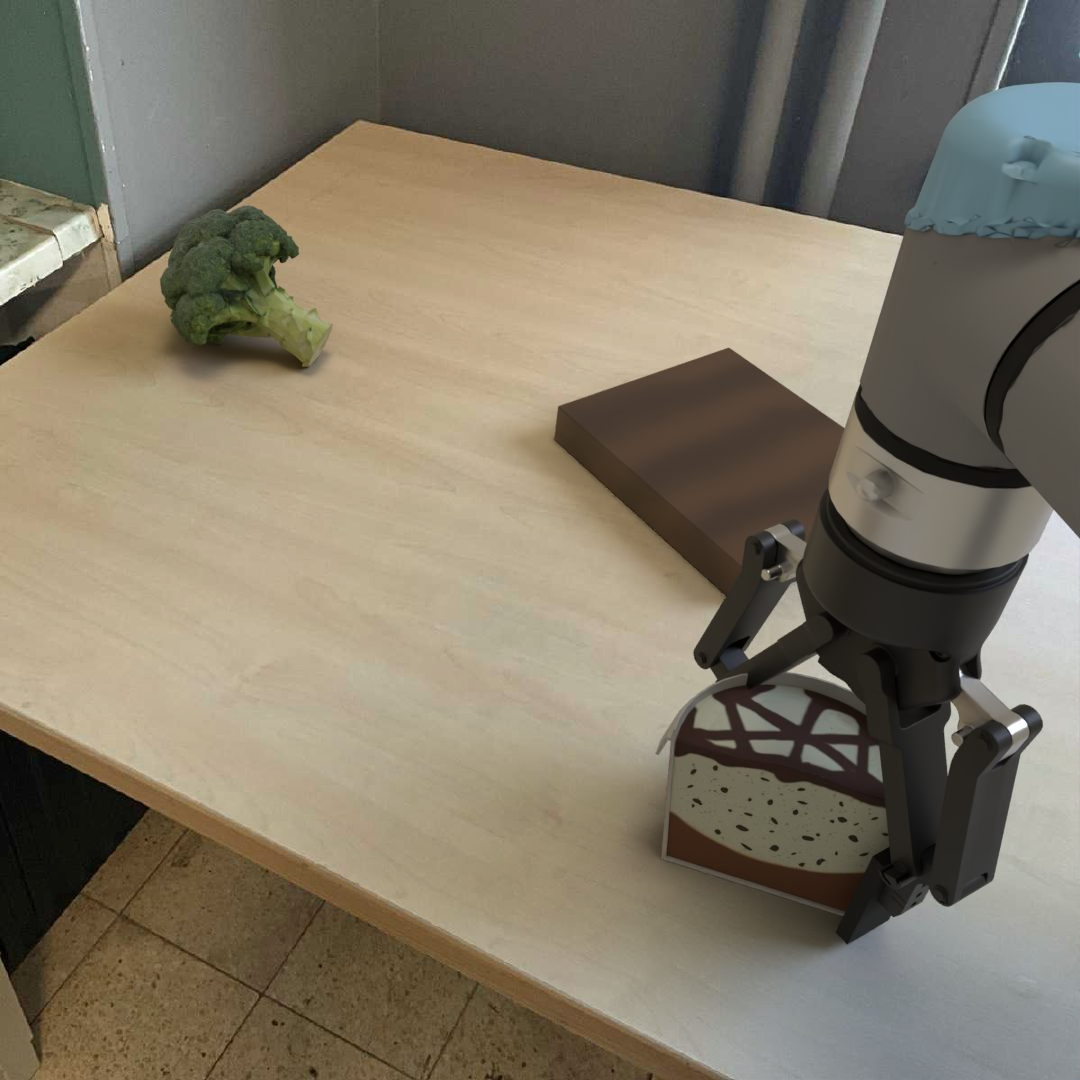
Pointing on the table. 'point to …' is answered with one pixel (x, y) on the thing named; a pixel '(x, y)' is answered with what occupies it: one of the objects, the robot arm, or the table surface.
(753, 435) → the board
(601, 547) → the table surface
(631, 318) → the table surface
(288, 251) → the vegetable
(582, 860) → the table surface
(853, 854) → the food container
